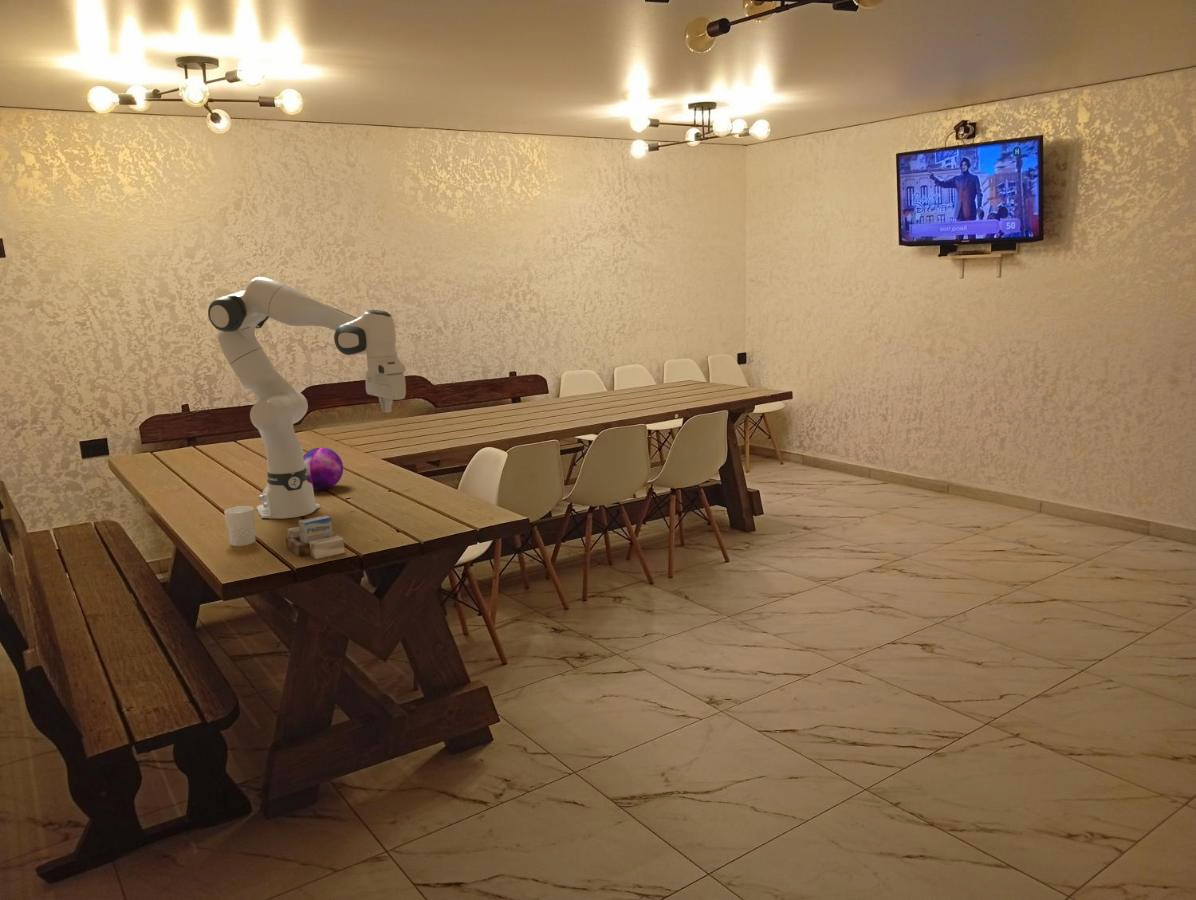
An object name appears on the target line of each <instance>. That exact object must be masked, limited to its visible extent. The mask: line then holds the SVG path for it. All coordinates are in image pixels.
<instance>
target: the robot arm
mask: <svg viewBox="0 0 1196 900" xmlns="http://www.w3.org/2000/svg"><path fill="white" fill-rule="evenodd" d="M207 315H208V320H209V322H210V323H211V325H212V326H213V327H214V328H215V329H216V330H218V334H217V341H218V343H219V347H220V348H221V351H222V353H223V355H224V357H225V360H226V361H227V363H228V364H229V366H230V368H231V369H232V371H233V372H234V374H235V375H236V377H237V379H238V380H239V382H240V383H241V385H242V386H243V387H244V389H246V390H248V391H249V392H251V393H252V394H253V395H254V396H255V397H257V399H258V400H257V402H255V404H253V405H252V407H251V409H250V411H249V418H250V421H251V423H252V425H253V426H254V427H255V428H256V429H257V430H258V432H259V434H260V436H261V440H262V442H263V445H264V449H265V455H266V460H267V461H266V462H267V463H266V464H267V470H268V471H267V472H266V473H267V475H266V482H267V484H266V486H265V488H264V489H263V491H262V494H259V495H258V499H259V503H263V504H259V505H256V511H257V510H258V511H257V512H258V514H259V516H260V515H261V516H260V518H261V517H262V518H269V519H290V518H291V519H292V518H299V517H303V516H307V515H309V514H312V513H314V512H315V511H317V510H318V509H320V508H321V505H320V503H316V497H315V494H314V493H315V492H314V489H313V486H312V484H311V483H309V482H308V481H307V471H306V468H305V466H304V449H303V448H304V447H303V445H302V442H300V440H299V439H298V437H297V435H296V432H295V428H294V424H296V423H298V422H299V421H301V420H302V419H303V418H304V416H305V415H306V414H307V412H308V408H309V405H308V399H307V398H306V397H305V395H303V394H302V393H301V392H299V391H297V390H296V389H295V388H294V387H293V386H292V385H291V384H290V383H289V382H288V381H287V380H286V379H285V378H284V376H282V374H281V373H280V372H279V371H278V369H277V368H276V367H275V366H274V364H273V362H272V361H271V360H270V358H269V356H268V354H267V353H266V352H265V350H264V348H263V346H262V345H261V343H260V342H259V341H258V339H257V337H256V334H255V331H256V329H261V328H262V327H263V326H264V325H265V323H266V322H267V321H268V320H269V318H271V320H274V321H276V322H278V323H281V324H284V325H288V326H291V327H305V326H307V327H313V326H315V327H323V328H327V329H329V330H333V331H334V334H333V337H334V338H333V341H334V345H335V348H336V349H337V350H338V351H339V352H340V353H341V354H343V355H346V356H356V355H362V354H365V355H366V363H367V370H366V372H365V391H366V394H367V395H370V396H375V397H378V401H379V403H380V405H381V411H382V412H384V413H387V414H388V413H392V406H393V402H394V401H398V400H399V401H400V400H404V399H405V397H406V395H407V389H406V388H407V384H406V376H405V374H404V373H406V372H407V371H406V365H405V364H404V363H403V362H402V361H400V359H399V357H398V352H397V349H396V348H397V347H396V342H397V336H396V335H397V333H396V327H395V323H394V318H393V316H392V314H391V313H389V312H387V311H384V310H378V309H377V310H375V309H369V310H365V312H363V314H362V315H360V316H359V317H356V316H353V315H352V314H349V313H346V312H345V311H342V310H340V309H337V308H335V307H332V306H330V305H327V304H325V303H323V302H321V301H319V300H317V299H315V298H313V297H311V296H309V295H307V294H305V293H303V292H302V291H300V290H299V289H296V288H294V287H292V286H290V285H288V284H285V283H283V282H281V281H279V280H275V279H272V278H269V277H265V276H257V277H254V278H252V279H251V280H250V281H249V282H248V284H247V285H246V288H245V290H238V291H234V292H232V293H230V294H227V295H222V296H220V297H218V298H215V299H214V300H212V302H211V303H210V304H209V306H208V309H207ZM262 518H261V519H262Z"/></svg>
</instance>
